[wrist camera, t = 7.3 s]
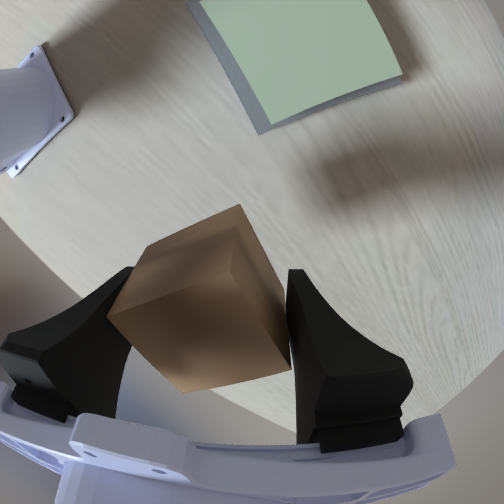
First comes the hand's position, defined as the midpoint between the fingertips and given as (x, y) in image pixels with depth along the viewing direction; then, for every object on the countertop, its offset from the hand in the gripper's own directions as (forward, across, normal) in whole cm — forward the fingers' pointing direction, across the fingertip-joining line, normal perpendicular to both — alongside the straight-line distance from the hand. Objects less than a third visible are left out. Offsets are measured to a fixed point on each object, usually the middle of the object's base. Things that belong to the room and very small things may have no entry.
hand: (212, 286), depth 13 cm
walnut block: (+2, 0, 0) cm, 2 cm away
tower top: (+8, -4, -12) cm, 15 cm away
